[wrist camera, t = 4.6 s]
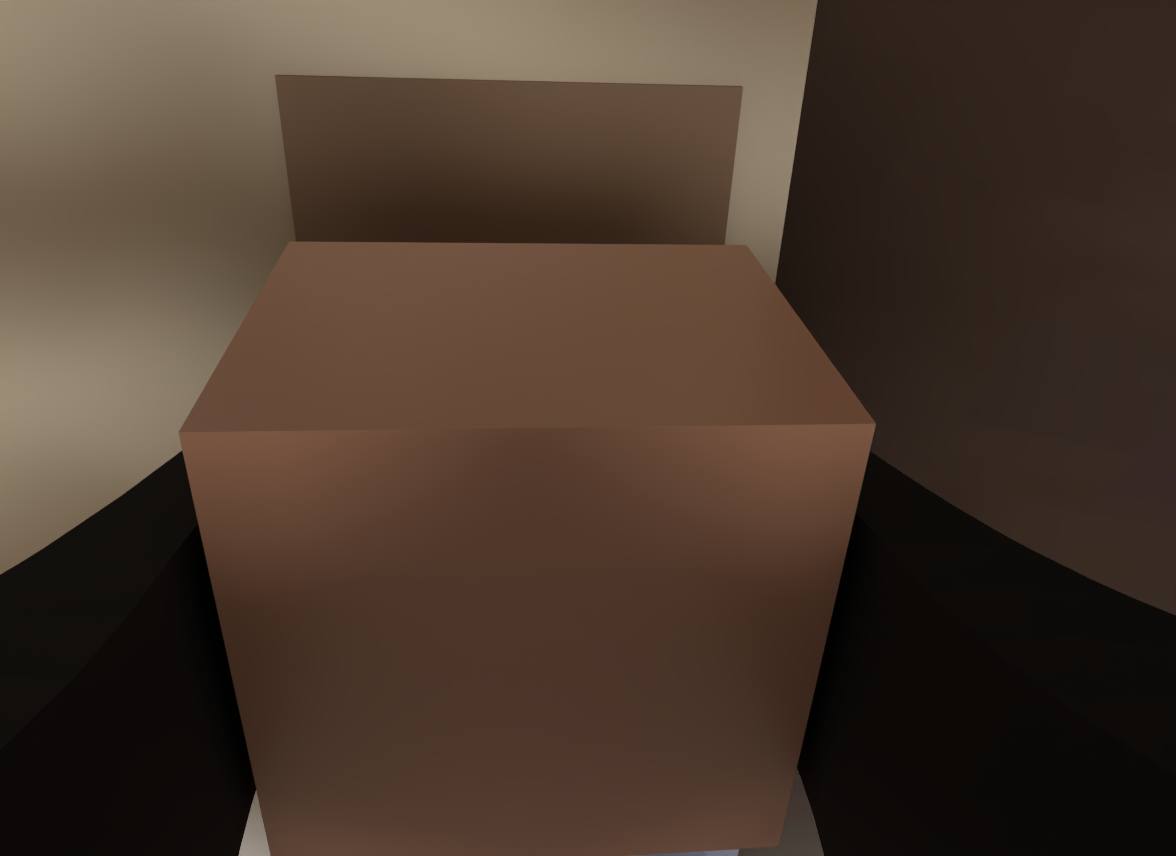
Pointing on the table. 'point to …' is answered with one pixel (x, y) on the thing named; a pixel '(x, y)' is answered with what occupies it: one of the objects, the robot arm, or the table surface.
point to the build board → (332, 178)
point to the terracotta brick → (524, 545)
